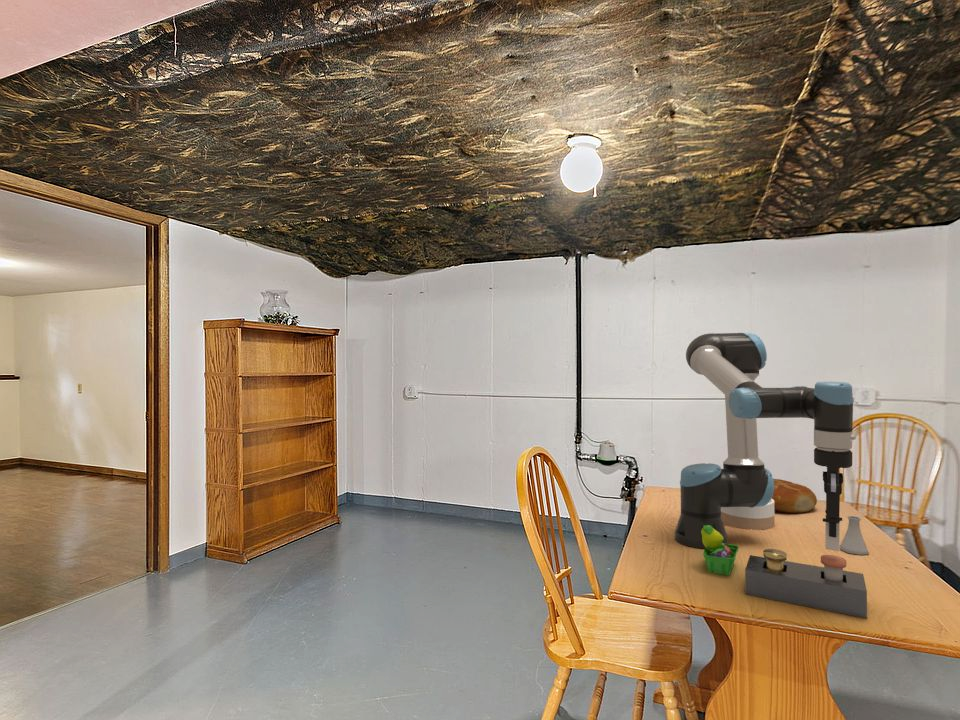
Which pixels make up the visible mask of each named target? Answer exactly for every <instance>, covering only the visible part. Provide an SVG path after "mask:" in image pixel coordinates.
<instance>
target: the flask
mask: <svg viewBox="0 0 960 720" xmlns="http://www.w3.org/2000/svg"><path fill="white" fill-rule="evenodd" d="M847 519H848V525H847V530H846V532H845V534H844V536H843V539H842V541H841V542H840V544H839V551H842V552H845V553H848V554H853V555H860V556H861V555H865V556H866V555H870V552H869V549H868V547H867V544H866V542H865V539H864V536H863V534H862V530H861V526H860V524H861V523H860V521H861V520H862V519H861V517H860V516H857V515H847Z"/></svg>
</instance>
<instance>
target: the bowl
mask: <svg viewBox="0 0 960 720" xmlns="http://www.w3.org/2000/svg"><path fill="white" fill-rule="evenodd" d="M775 513H776V511H774V500H773V499H772V498H771V500H770V501H769V503H768V504H766V505H765V506H759V507H753V508H750V507H721V519H722V522H723V525H726V526H730V527H732V528H733V527H734V528H735V529H736V528H737V529H744V530H750V529H752V530H755V531H760V530H769V529H773V528H774V527H775Z"/></svg>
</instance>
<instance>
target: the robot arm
mask: <svg viewBox="0 0 960 720" xmlns="http://www.w3.org/2000/svg"><path fill="white" fill-rule="evenodd" d="M767 355H768V354H767V348H766V346H765V343H764V342H763V340H762V338H761V337H760V336H758V335H757V334H756V333H748V332H747V333H746V332H733V333H732V332H729V333H728V332H725V333H724V332H722V333H720V332H719V333H715V332H713V333H711V332H710V333H704V334H701V335H699V336H697V337H695V338H694V339H693V340H692V341H691V342H690V343H689V345H688V346H687V348H686V352H685V361H686V363H687V365H688V366H689V368H690V369H691V370H692V371H693V372H695V373H696V374H698V375H701V376H704V377H705V379H707V380H708V381H709V382H710V383H711V384H712V385H714V386H715V387H716V388H717V389H718V390H719V391H721V393H722V394H723V395H724V403H725V423H726V424H725V426H726V441H727V443H726V445H727V457H726V458H725V460H724V461H722V463H723V464H722V467H723V468H721V465H719V464H716V463H711V462H710V463H694V464H690V465H689V464H688V465H686V466H685V467H683V468H682V470H681V472H680V480H679V485H680V486H679V487H680V515H679V519H678V521H677V524H676V526H675V531H674V539H675V541H676V542H678V544H679V543H680V544H681V545H685V546H688V547H692V548H696V549H704V550H705V548H706V547H705V546H704V544H703V541H702V534H701V530H702V529H703V526H704V525H705V526H706V525H710V526H712V527H713V528H714V529H715V530H716V531H718V532H719V533H720V534H721V535H722V536H723V538H724V540H723V541H722V543H725V544H728V533H727V531H726V529H725V524H724V523H723V522H722V519H721V507H750V508H753V507H759V506H765V505H766V504H768V503H769V501H770V500H771V498H772V496H773V492H774V480H773V479H774V477H773V474H772V472H771V471H770V469H768V468H766V467H765V462H763V460H762V459H760V457H759V444H758V426H757V424H758V423H757V419H780V418H781V419H786V418H787V419H790V418H791V419H792V418H793V419H795V418H796V419H797V418H801V419H802V418H803V419H804V418H805V419H812V420H813V424H814V425H813V446H815V448H814V449H813V463H814V464H815V465H817V466H820V467H826V471H822V481H823V491H824V493H825V517H822V522H823V523H825V533H824V534H825V537H824V538H825V543H824V545H825V546H824V547H825V550H829V551H833V552H836V551H837V552H840V522H843V517H841V516H840V507H841V506H840V504H841V501H840V499H841V498H840V497H841V495H842V493H843V491H842V490H843V483H844V475H843V473H842V472H840V470H839V469H849V468H852V466H853V451H852V450H851V449H852V448H853V441H855V440H856V435H854V434H853V423H854V422H853V421H854V420H853V419H854V418H853V417H854V416H853V415H854V401H855V400H854V397H853V386H852V384H850V383H849V382H844V381H842V382H841V381H818V382H816V383H815V384H814V388H813V387H807V386H803V385H802V386H801V385H800V386H799V385H798V386H792V387H762V386H761V385H759V384H758V383H757V382H755V380H756V379H757V378H758V377H759V376H760V370H762V369H764V367H766V365H767V363H766V362H767V358H768V357H767ZM852 440H853V441H852Z"/></svg>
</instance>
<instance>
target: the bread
mask: <svg viewBox="0 0 960 720" xmlns="http://www.w3.org/2000/svg"><path fill="white" fill-rule="evenodd" d="M773 480H774V492H773V496H772V499H773V500H774V511H775V513H777V512H778V513H786V514H787V513H788V514H789V513H790V514H803V513H807V512H809V511H811V510H813V509H814V508H815V507H816V506H817V504H818V503H817V502H818V499H817V496H816V494H815V493H814V492H813V491H812V489H810V488H809V487H807V486H806V485H802V484H799V483H795V482H792V481H788V480H785V479H779V478H773Z"/></svg>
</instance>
